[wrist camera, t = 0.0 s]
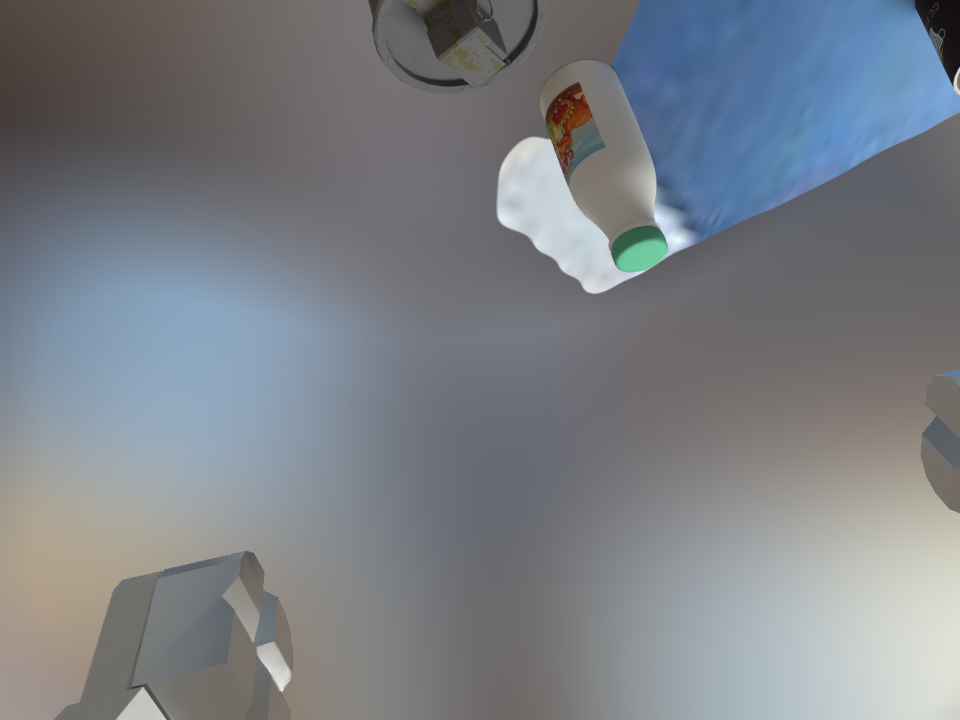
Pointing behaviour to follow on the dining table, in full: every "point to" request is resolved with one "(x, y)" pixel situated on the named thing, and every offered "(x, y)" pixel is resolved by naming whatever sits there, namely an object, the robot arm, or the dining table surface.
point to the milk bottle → (605, 159)
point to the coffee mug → (944, 33)
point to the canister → (455, 40)
